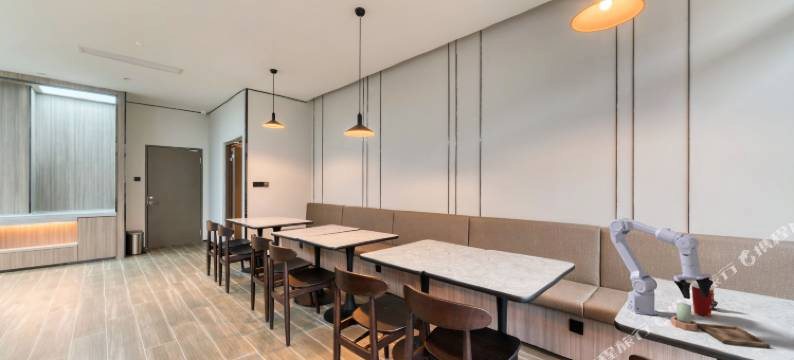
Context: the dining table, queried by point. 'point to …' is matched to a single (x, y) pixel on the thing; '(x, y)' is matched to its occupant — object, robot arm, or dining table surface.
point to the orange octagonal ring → (684, 324)
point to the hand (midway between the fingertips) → (695, 297)
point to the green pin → (684, 313)
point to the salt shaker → (714, 303)
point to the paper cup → (701, 301)
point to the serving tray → (732, 335)
